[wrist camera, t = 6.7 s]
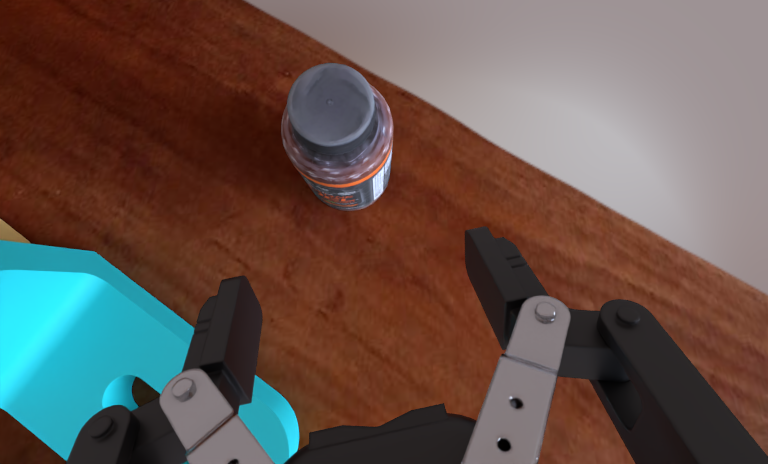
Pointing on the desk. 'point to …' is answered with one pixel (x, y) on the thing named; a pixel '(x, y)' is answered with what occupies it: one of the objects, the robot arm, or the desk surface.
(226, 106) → the desk surface
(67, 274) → the bracket
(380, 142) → the supplement bottle
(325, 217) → the desk surface
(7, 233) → the rubber stamp
